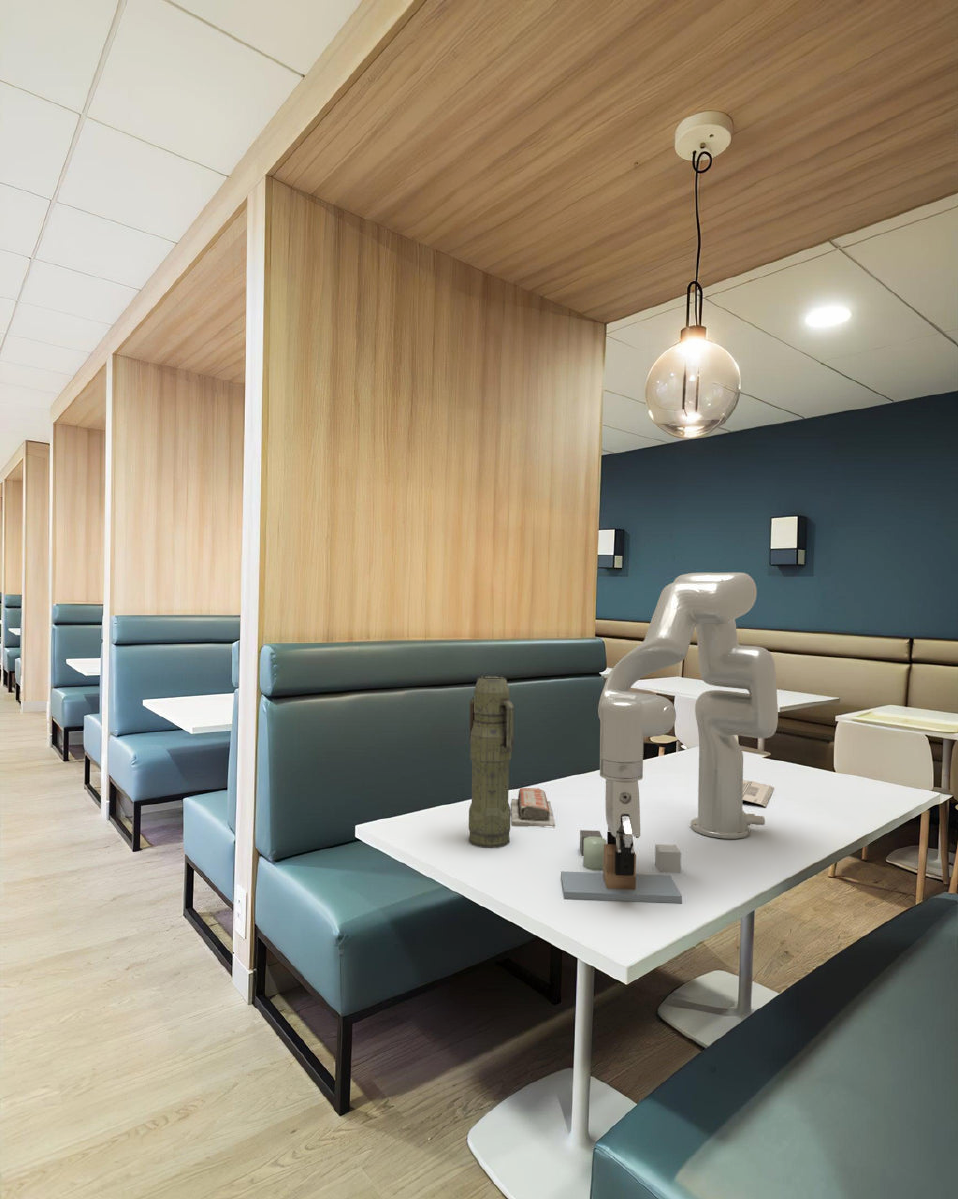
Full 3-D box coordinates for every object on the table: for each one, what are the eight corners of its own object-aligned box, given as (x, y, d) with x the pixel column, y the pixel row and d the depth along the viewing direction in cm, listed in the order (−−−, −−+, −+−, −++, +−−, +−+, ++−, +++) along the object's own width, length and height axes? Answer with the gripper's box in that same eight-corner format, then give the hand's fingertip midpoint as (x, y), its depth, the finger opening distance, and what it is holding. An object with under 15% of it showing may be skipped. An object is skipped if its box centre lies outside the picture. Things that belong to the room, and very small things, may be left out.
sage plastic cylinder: (604, 862, 136) (605, 836, 136) (607, 871, 131) (608, 844, 131) (582, 861, 136) (582, 836, 136) (584, 870, 132) (584, 844, 132)
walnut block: (631, 878, 125) (631, 845, 125) (635, 889, 120) (636, 855, 120) (603, 877, 125) (603, 844, 125) (606, 888, 120) (607, 854, 120)
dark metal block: (599, 850, 143) (599, 830, 143) (601, 857, 139) (602, 837, 139) (579, 849, 143) (580, 830, 143) (581, 856, 139) (582, 836, 139)
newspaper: (728, 784, 199) (729, 776, 199) (773, 795, 193) (774, 786, 193) (714, 803, 179) (715, 793, 179) (764, 815, 173) (765, 806, 173)
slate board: (669, 882, 127) (670, 875, 127) (681, 903, 118) (682, 896, 118) (560, 877, 128) (560, 871, 128) (564, 898, 119) (564, 891, 119)
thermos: (480, 829, 154) (483, 673, 154) (523, 841, 146) (526, 677, 147) (454, 839, 147) (457, 676, 147) (498, 853, 140) (501, 680, 140)
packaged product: (511, 785, 175) (550, 787, 174) (510, 804, 175) (550, 806, 174) (511, 807, 157) (555, 808, 156) (511, 828, 157) (555, 829, 156)
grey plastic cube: (675, 865, 135) (675, 845, 135) (680, 873, 131) (680, 852, 131) (654, 864, 135) (655, 844, 135) (659, 872, 131) (659, 851, 131)
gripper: (652, 781, 114) (650, 885, 114) (633, 757, 131) (632, 847, 131) (606, 780, 114) (605, 883, 114) (594, 756, 132) (593, 845, 132)
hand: (620, 863), depth 123 cm, fingers open, 9 cm apart
